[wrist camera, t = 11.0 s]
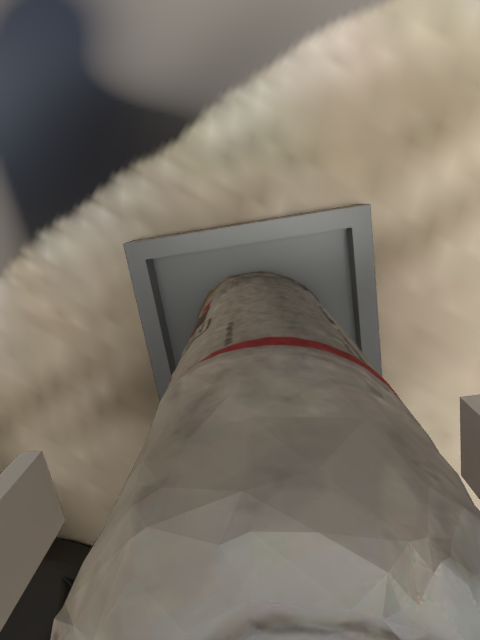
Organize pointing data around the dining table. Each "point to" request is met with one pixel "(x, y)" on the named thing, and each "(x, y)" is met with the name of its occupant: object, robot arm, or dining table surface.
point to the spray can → (281, 496)
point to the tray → (253, 256)
